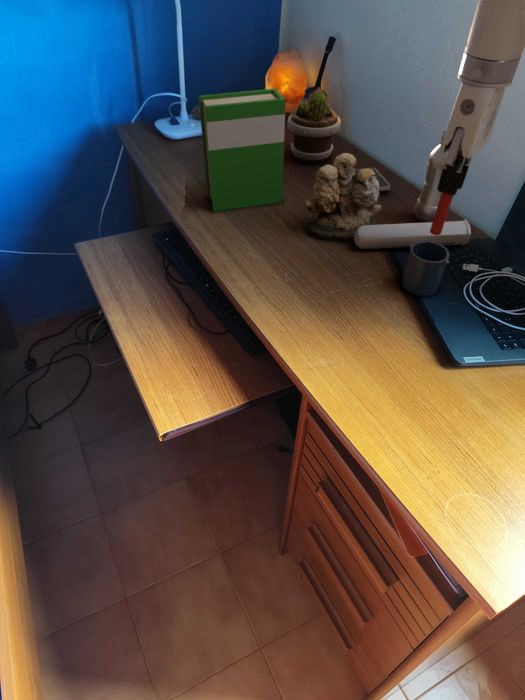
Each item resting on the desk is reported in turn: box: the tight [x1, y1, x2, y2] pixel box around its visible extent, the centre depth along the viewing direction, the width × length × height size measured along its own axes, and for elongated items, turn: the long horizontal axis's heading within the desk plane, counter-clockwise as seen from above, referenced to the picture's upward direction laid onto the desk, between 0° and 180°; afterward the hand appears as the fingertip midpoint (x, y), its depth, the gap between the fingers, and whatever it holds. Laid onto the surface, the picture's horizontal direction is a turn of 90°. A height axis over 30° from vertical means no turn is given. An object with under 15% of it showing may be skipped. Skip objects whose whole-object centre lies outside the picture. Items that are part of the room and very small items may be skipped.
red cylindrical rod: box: [430, 157, 461, 235], centre depth 81 cm, size 2×2×14 cm
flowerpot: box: [286, 85, 342, 164], centre depth 129 cm, size 14×15×20 cm
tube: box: [353, 219, 472, 250], centre depth 103 cm, size 5×5×25 cm
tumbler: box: [401, 241, 450, 297], centre depth 92 cm, size 7×7×8 cm
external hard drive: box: [355, 167, 391, 194], centre depth 123 cm, size 7×11×2 cm, turn 13°
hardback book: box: [198, 88, 287, 212], centre depth 110 cm, size 18×7×24 cm, turn 106°
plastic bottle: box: [413, 130, 449, 223], centre depth 105 cm, size 6×7×20 cm
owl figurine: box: [303, 152, 382, 242], centre depth 103 cm, size 18×12×17 cm, turn 101°
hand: (449, 188), depth 80 cm, fingers closed on red cylindrical rod, 2 cm apart
